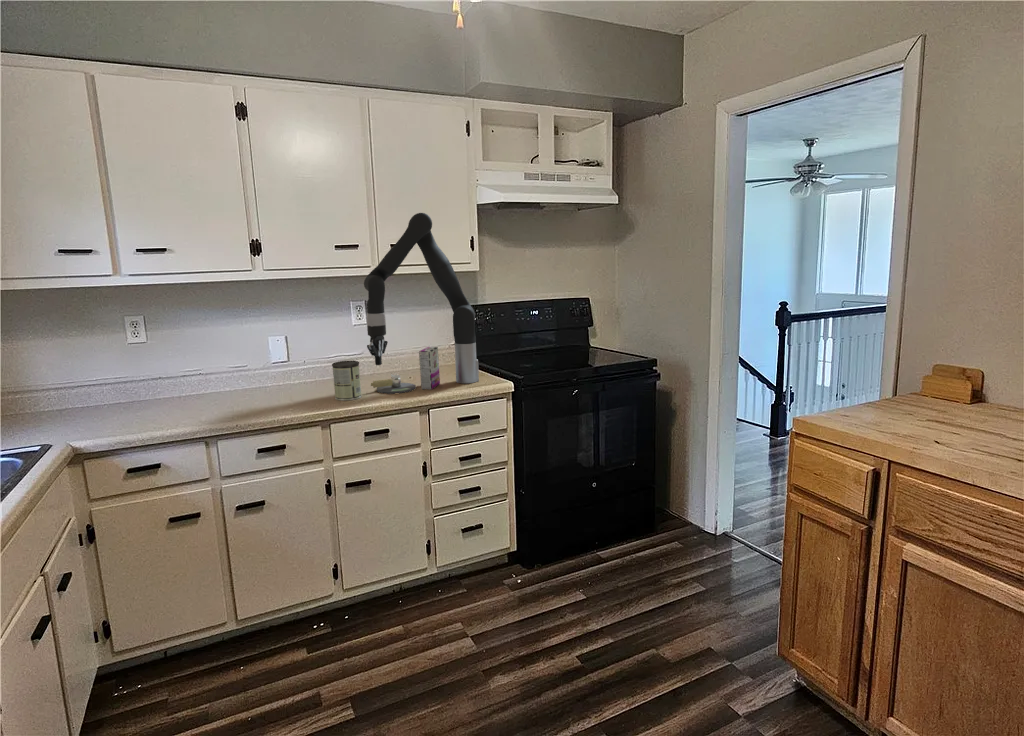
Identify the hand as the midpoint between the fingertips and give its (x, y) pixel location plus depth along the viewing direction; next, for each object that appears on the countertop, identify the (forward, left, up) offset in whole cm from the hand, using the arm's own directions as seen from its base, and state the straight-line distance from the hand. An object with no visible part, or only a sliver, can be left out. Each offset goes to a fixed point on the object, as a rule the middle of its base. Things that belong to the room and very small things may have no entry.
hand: (378, 364), depth 248 cm
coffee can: (+15, +9, -10) cm, 21 cm away
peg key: (-1, +6, -9) cm, 11 cm away
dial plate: (-5, +6, -10) cm, 13 cm away
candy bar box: (-19, +9, -10) cm, 24 cm away
